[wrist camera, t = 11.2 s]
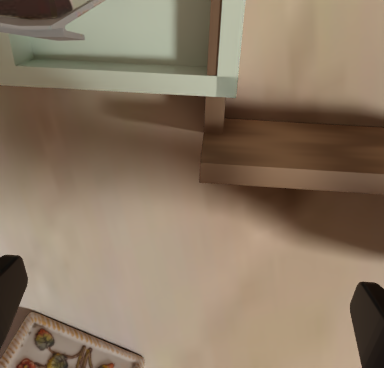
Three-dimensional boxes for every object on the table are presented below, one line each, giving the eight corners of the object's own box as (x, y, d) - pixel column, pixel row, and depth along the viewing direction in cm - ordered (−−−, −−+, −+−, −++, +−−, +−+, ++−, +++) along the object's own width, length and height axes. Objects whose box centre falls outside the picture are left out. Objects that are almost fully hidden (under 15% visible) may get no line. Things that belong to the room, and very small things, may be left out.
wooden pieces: (572, -153, 14) (782, -233, 9) (443, 146, 20) (518, 203, 15) (220, -160, 14) (220, -238, 9) (204, 133, 21) (199, 182, 16)
